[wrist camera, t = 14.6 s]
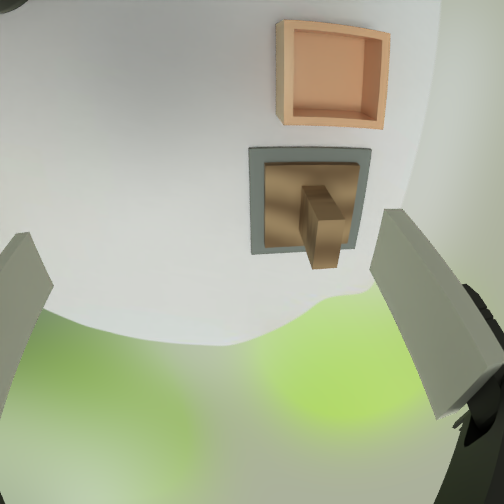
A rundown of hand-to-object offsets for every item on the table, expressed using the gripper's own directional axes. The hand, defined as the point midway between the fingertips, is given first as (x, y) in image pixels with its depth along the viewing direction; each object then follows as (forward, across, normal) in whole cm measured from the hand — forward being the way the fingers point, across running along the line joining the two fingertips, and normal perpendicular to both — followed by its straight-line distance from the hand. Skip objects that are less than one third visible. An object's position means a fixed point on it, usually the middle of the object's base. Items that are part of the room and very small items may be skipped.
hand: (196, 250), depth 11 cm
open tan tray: (+31, +13, +4) cm, 34 cm away
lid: (+30, +12, -15) cm, 36 cm away
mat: (+31, +12, -15) cm, 36 cm away
